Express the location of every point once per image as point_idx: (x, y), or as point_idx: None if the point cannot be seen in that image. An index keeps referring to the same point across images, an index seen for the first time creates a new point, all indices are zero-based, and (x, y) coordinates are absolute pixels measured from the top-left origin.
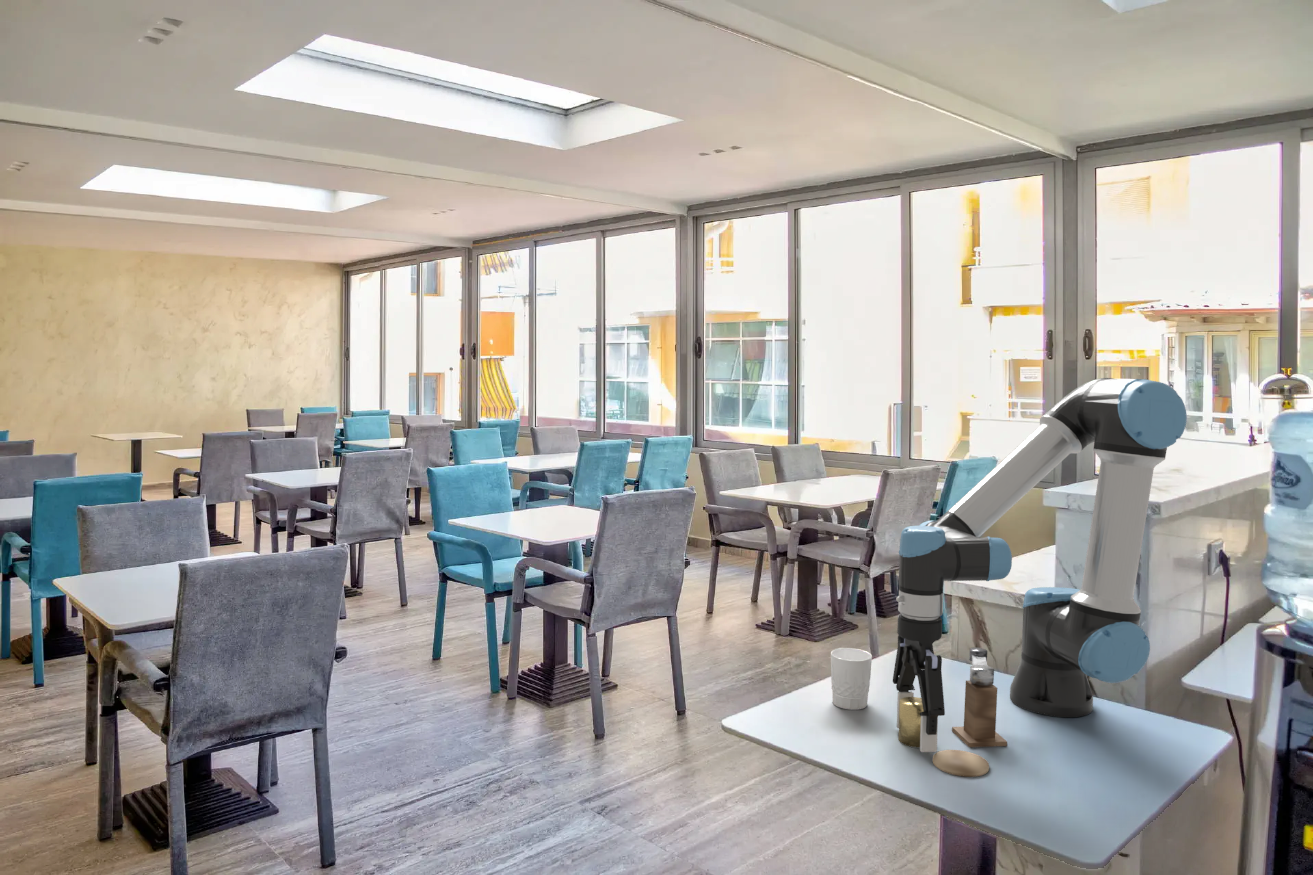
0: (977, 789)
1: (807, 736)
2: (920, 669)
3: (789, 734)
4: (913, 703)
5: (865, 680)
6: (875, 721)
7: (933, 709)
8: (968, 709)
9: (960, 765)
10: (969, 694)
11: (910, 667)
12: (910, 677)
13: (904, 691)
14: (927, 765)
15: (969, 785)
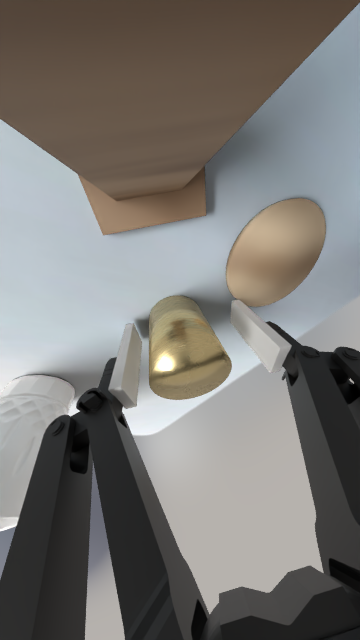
0: (345, 256)
1: (174, 403)
2: (330, 577)
3: (171, 411)
4: (196, 381)
5: (26, 436)
6: (107, 362)
7: (348, 381)
8: (137, 175)
9: (289, 268)
10: (135, 129)
11: (170, 548)
12: (134, 462)
13: (118, 402)
14: (257, 311)
15: (329, 265)
